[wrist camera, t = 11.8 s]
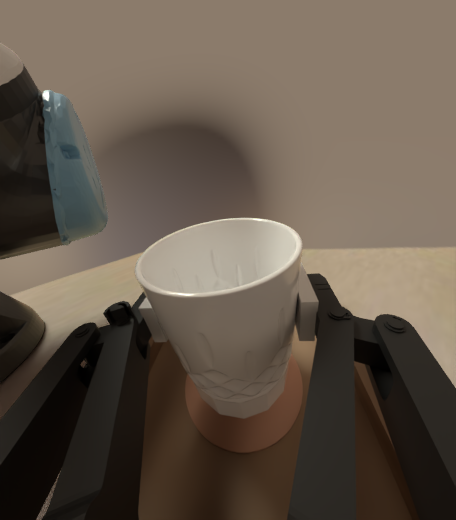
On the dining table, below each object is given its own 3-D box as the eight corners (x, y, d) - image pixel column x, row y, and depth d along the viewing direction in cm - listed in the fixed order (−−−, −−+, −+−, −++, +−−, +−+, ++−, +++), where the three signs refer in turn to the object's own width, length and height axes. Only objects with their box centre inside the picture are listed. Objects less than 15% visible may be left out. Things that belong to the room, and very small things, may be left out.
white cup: (235, 473, 10) (184, 339, 5) (170, 364, 15) (116, 253, 10) (319, 365, 14) (338, 232, 9) (242, 310, 19) (228, 211, 14)
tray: (53, 568, 10) (22, 563, 8) (175, 306, 25) (170, 292, 24) (495, 661, 7) (538, 674, 6) (324, 301, 22) (326, 285, 21)
